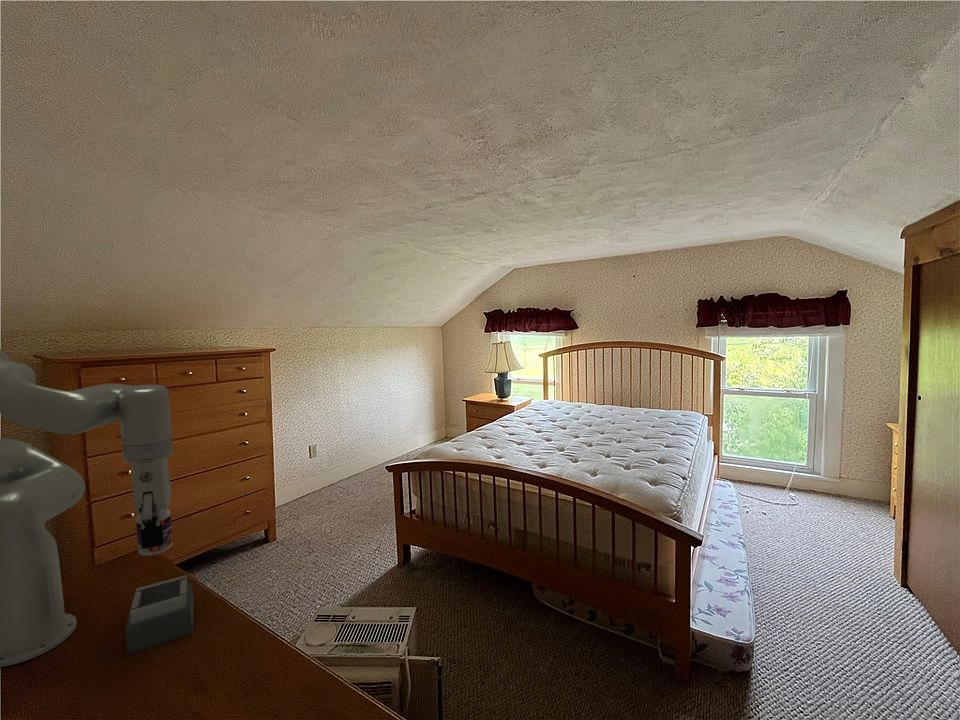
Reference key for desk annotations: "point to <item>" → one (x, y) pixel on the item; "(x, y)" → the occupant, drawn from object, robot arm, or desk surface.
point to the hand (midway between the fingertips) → (154, 537)
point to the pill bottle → (167, 533)
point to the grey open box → (160, 614)
